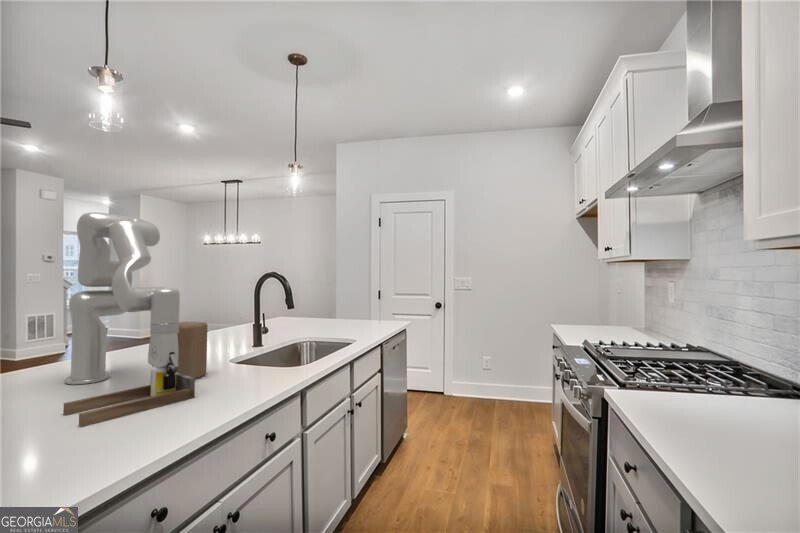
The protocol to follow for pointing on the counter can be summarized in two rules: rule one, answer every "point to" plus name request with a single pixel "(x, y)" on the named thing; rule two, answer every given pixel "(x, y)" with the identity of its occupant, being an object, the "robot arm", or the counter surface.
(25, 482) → the counter surface
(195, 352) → the block
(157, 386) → the supplement bottle
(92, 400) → the shelf lane
